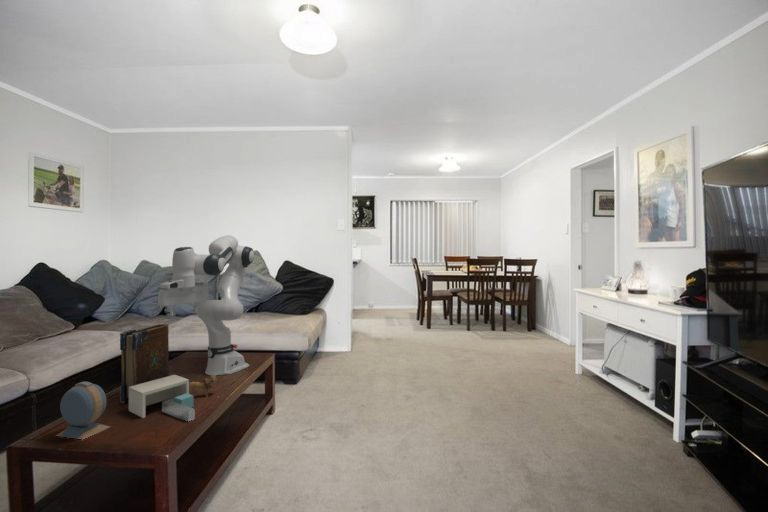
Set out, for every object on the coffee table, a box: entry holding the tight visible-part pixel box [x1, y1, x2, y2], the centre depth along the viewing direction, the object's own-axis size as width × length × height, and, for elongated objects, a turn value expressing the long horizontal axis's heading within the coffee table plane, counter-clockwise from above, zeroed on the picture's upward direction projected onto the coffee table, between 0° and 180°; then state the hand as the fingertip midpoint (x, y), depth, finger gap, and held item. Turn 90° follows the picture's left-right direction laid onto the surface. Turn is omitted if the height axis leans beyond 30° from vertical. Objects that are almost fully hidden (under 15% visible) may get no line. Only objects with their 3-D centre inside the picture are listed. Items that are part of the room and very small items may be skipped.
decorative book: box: [119, 323, 170, 404], centre depth 164 cm, size 23×7×30 cm, turn 177°
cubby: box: [128, 374, 190, 419], centre depth 149 cm, size 18×12×10 cm, turn 147°
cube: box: [175, 393, 195, 408], centre depth 147 cm, size 5×5×5 cm
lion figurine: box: [189, 375, 218, 398], centre depth 160 cm, size 15×5×9 cm, turn 112°
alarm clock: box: [55, 381, 111, 441], centre depth 128 cm, size 14×10×18 cm
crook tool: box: [161, 397, 196, 423], centre depth 143 cm, size 8×18×4 cm, turn 60°
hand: (183, 314), depth 158 cm, fingers open, 8 cm apart
